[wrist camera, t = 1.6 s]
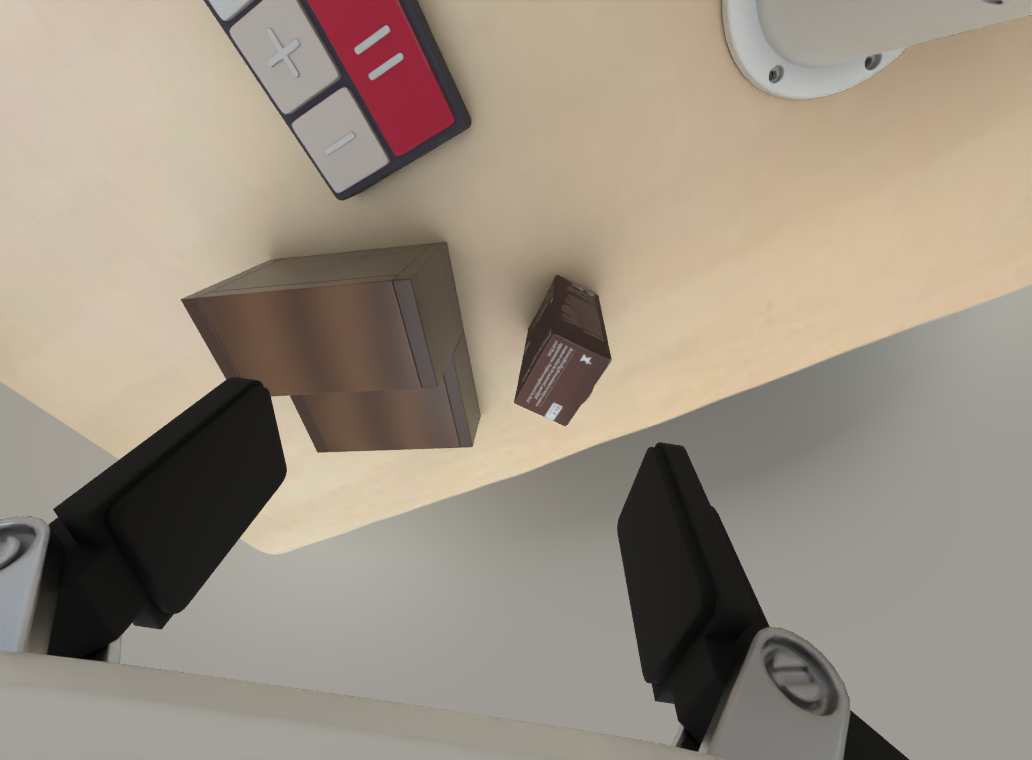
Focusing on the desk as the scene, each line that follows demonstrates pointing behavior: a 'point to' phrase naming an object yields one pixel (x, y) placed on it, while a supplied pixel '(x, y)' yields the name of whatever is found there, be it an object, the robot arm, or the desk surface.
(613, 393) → the desk surface
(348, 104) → the calculator
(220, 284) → the step shelf
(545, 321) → the box
